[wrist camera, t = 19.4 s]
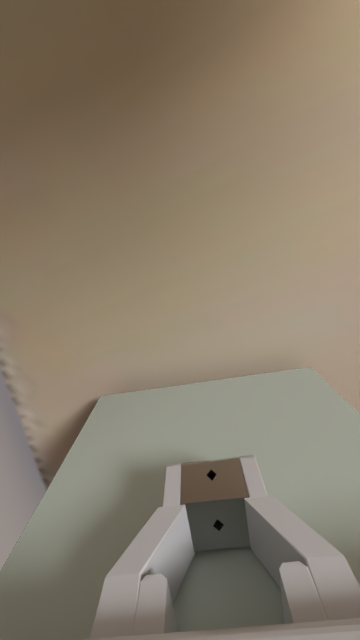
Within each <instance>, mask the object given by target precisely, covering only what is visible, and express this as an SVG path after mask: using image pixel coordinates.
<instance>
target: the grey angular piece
mask: <svg viewBox="0 0 360 640" xmlns="http://www.w3.org/2000/svg"><path fill="white" fill-rule="evenodd" d="M246 455H254V456H255V458H256V461H257V464H258V467H259V470H260V473H261V476H262V479H263V482H264V485H265V488H266V491H267V494H268V496H270V495H273V496H274V497H275V498H277V499H278V500H279V501H280V502H281V503H282V504H284V505H285V506H286V507H287V508H288V509H290V510H291V511H292V512H293V513H294V514H295V515H297V516H298V517H299V518H300V519H301V520H303V521H304V522H305V523H306V524H307V525H308V526H310V527H311V528H312V529H313V530H314V531H316V532H317V533H318V534H319V535H320V536H321V537H323V538H324V539H325V540H326V541H327V542H329V543H330V544H331V545H332V546H333V547H334V548H336V549H337V550H338V551H339V552H340V553H342V554H343V555H344V556H345V558H346V560H347V562H348V564H349V566H350V568H351V570H352V572H353V574H354V576H355V578H356V580H357V582H358V584H359V586H360V413H359V412H358V411H357V410H356V409H355V408H353V407H352V406H351V405H350V404H349V403H348V402H347V401H346V400H345V399H344V398H343V397H342V396H341V395H340V394H339V393H338V392H337V391H336V390H334V389H333V388H332V387H331V386H330V385H329V384H328V383H327V382H326V381H325V380H324V379H323V378H322V377H321V376H320V375H319V374H318V373H317V372H315V371H314V370H313V369H312V368H311V367H307V368H299V369H292V370H285V371H278V372H271V373H263V374H256V375H249V376H242V377H235V378H227V379H220V380H213V381H206V382H199V383H191V384H184V385H177V386H170V387H163V388H156V389H148V390H141V391H134V392H127V393H120V394H112V395H105V396H100V398H99V400H98V402H97V403H96V405H95V407H94V409H93V410H92V412H91V414H90V416H89V417H88V419H87V421H86V423H85V424H84V426H83V428H82V430H81V431H80V433H79V435H78V437H77V438H76V440H75V442H74V444H73V445H72V447H71V449H70V451H69V452H68V454H67V456H66V458H65V459H64V461H63V463H62V465H61V466H60V468H59V470H58V472H57V473H56V475H55V477H54V479H53V480H52V482H51V484H50V485H49V487H48V489H47V491H46V492H45V494H44V496H43V498H42V500H41V501H40V503H39V505H38V506H37V509H36V510H35V512H34V514H33V515H32V517H31V519H30V520H29V522H28V524H27V526H26V527H25V529H24V531H23V533H22V535H21V536H20V538H19V540H18V541H17V543H16V545H15V547H14V548H13V550H12V552H11V554H10V555H9V557H8V559H7V561H6V562H5V564H4V566H3V568H2V570H1V571H0V640H82V639H90V637H91V633H92V629H93V625H94V621H95V617H96V613H97V609H98V605H99V601H100V597H101V593H102V589H103V585H104V581H105V577H106V575H107V574H108V573H109V571H110V570H111V569H112V568H113V566H114V565H115V564H116V562H117V561H118V560H119V558H120V557H121V556H122V554H123V553H124V552H125V550H126V549H127V548H128V546H129V545H130V544H131V542H132V541H133V540H134V538H135V537H136V536H137V534H138V533H139V532H140V530H141V529H142V528H143V526H144V525H145V524H146V522H147V521H148V520H149V518H150V517H151V516H152V514H153V513H154V512H155V510H156V509H157V508H158V507H162V504H163V494H164V483H165V472H166V467H167V464H178V463H186V462H197V461H208V460H216V459H224V458H232V457H239V456H246ZM194 554H195V555H194V557H193V559H192V561H191V563H190V566H189V568H188V570H187V572H186V575H185V577H184V579H183V581H182V584H181V586H180V588H179V590H178V593H177V595H176V597H175V599H174V602H173V608H174V612H175V616H176V620H177V625H178V629H179V632H186V631H199V630H211V629H224V628H237V627H250V626H263V625H276V624H284V618H283V606H282V595H281V588H280V587H279V585H278V584H277V583H276V581H275V580H274V579H273V577H272V576H271V575H270V573H269V572H268V571H267V569H266V568H265V567H264V565H263V564H262V563H261V562H260V560H259V559H258V558H257V556H256V555H255V554H254V552H253V551H252V550H251V548H250V547H238V548H223V549H214V550H207V551H199V552H194Z"/></svg>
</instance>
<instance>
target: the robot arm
mask: <svg viewBox="0 0 360 640" xmlns="http://www.w3.org/2000/svg"><path fill="white" fill-rule="evenodd" d="M238 547H250V548H251V550H252V551H253V552H254V554H255V555H256V556H257V558H258V559H259V560H260V562H261V563H262V564H263V565H264V567H265V568H266V569H267V571H268V572H269V573H270V575H271V576H272V577H273V579H274V580H275V581H276V583H277V584H278V585H279V587H280V588H281V595H282V606H283V618H284V624H276V625H263V626H250V627H237V628H224V629H211V630H199V631H186V632H179V629H178V625H177V620H176V616H175V612H174V608H173V602H174V599H175V597H176V595H177V593H178V590H179V588H180V586H181V584H182V581H183V579H184V577H185V575H186V572H187V570H188V568H189V566H190V563H191V561H192V559H193V557H194V555H195V554H194V552H199V551H207V550H214V549H223V548H238ZM82 640H360V586H359V584H358V582H357V580H356V578H355V576H354V574H353V572H352V570H351V568H350V566H349V564H348V562H347V560H346V558H345V556H344V555H343V554H342V553H340V552H339V551H338V550H337V549H336V548H334V547H333V546H332V545H331V544H330V543H329V542H327V541H326V540H325V539H324V538H323V537H321V536H320V535H319V534H318V533H317V532H316V531H314V530H313V529H312V528H311V527H310V526H308V525H307V524H306V523H305V522H304V521H303V520H301V519H300V518H299V517H298V516H297V515H295V514H294V513H293V512H292V511H291V510H290V509H288V508H287V507H286V506H285V505H284V504H282V503H281V502H280V501H279V500H278V499H277V498H275V497H274V496H273V495H270V496H268V494H267V491H266V488H265V485H264V482H263V479H262V476H261V473H260V470H259V467H258V464H257V461H256V458H255V456H254V455H246V456H239V457H232V458H224V459H216V460H208V461H197V462H186V463H178V464H167V467H166V472H165V483H164V494H163V504H162V507H158V508H157V509H156V510H155V512H154V513H153V514H152V516H151V517H150V518H149V520H148V521H147V522H146V524H145V525H144V526H143V528H142V529H141V530H140V532H139V533H138V534H137V536H136V537H135V538H134V540H133V541H132V542H131V544H130V545H129V546H128V548H127V549H126V550H125V552H124V553H123V554H122V556H121V557H120V558H119V560H118V561H117V562H116V564H115V565H114V566H113V568H112V569H111V570H110V571H109V573H108V574H107V575H106V577H105V581H104V585H103V589H102V593H101V597H100V601H99V605H98V609H97V613H96V617H95V621H94V625H93V629H92V633H91V637H90V639H82Z"/></svg>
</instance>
